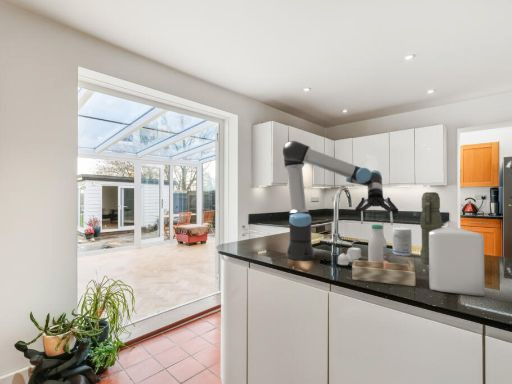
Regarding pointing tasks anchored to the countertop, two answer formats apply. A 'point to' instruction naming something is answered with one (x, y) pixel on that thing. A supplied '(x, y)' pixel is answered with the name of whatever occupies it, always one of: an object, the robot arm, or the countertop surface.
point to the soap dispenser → (456, 261)
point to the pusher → (386, 262)
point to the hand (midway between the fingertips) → (376, 222)
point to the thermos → (429, 221)
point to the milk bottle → (377, 245)
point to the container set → (349, 256)
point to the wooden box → (384, 272)
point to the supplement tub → (402, 241)
